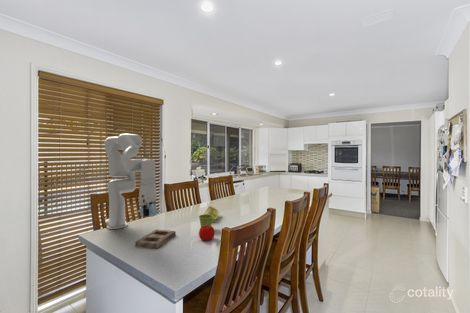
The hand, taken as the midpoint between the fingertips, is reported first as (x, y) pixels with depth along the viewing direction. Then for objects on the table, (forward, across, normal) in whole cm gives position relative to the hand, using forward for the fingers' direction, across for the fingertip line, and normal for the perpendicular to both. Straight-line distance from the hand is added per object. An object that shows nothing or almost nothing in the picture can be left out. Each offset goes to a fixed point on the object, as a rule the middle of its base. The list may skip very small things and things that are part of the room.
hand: (148, 214), depth 129 cm
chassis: (+16, -4, +2) cm, 17 cm away
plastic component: (+16, -52, +18) cm, 57 cm away
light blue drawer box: (+1, 0, 0) cm, 1 cm away
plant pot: (+16, -29, +23) cm, 40 cm away
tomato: (+17, -13, +29) cm, 36 cm away
